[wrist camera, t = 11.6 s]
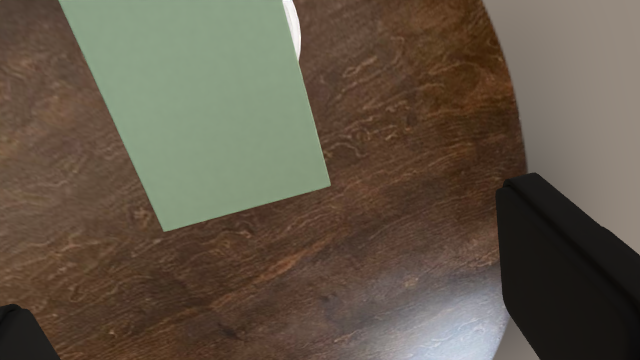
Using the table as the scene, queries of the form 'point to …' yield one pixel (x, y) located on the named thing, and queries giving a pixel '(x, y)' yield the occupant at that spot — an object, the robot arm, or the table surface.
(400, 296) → the table surface
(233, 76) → the sage green foam block
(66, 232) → the table surface
